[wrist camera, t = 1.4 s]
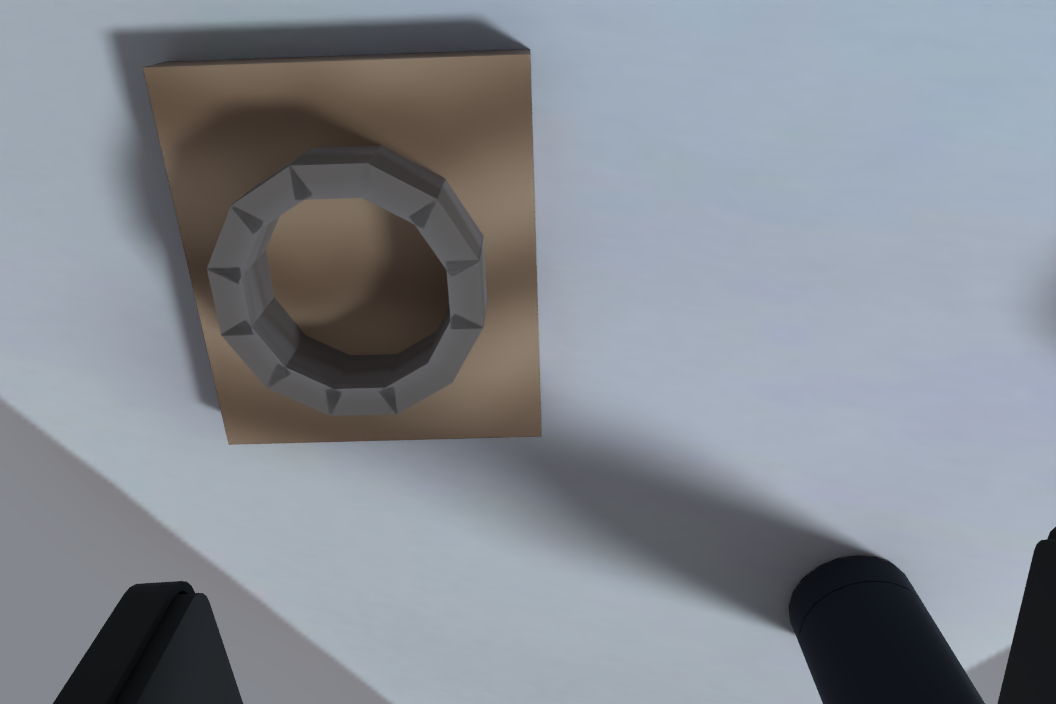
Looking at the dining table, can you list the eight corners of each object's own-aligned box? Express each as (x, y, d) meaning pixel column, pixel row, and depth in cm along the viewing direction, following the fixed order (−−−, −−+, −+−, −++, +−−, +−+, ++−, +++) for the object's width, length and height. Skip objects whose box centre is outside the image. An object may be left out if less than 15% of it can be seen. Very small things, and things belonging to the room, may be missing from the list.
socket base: (165, 61, 31) (102, 77, 26) (530, 49, 30) (529, 63, 26) (243, 421, 38) (203, 483, 33) (541, 413, 37) (542, 474, 33)
